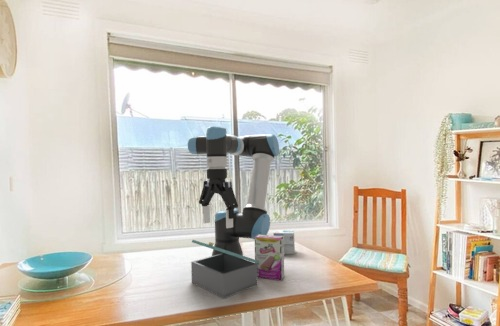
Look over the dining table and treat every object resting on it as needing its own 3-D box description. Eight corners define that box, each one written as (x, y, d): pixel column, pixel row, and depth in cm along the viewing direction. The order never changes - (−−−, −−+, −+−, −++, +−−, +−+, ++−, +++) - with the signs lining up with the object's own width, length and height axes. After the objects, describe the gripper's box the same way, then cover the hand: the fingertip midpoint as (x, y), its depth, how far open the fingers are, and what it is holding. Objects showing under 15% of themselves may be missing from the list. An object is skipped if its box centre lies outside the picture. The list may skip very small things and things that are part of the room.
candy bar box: (254, 278, 119) (253, 236, 120) (258, 273, 124) (257, 234, 124) (282, 281, 116) (281, 238, 116) (284, 276, 121) (284, 235, 121)
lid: (191, 242, 117) (193, 237, 117) (223, 252, 127) (224, 247, 128) (225, 253, 102) (226, 247, 102) (257, 263, 112) (259, 258, 113)
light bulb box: (294, 250, 156) (294, 229, 156) (295, 254, 150) (294, 232, 150) (273, 250, 158) (273, 229, 158) (273, 254, 151) (273, 232, 151)
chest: (191, 282, 116) (191, 261, 116) (224, 271, 127) (223, 252, 127) (223, 298, 101) (223, 275, 101) (257, 285, 112) (256, 263, 112)
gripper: (189, 168, 118) (190, 222, 118) (231, 168, 100) (232, 231, 100) (205, 168, 123) (205, 219, 123) (247, 167, 106) (248, 228, 105)
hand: (217, 225), depth 112 cm, fingers open, 13 cm apart
